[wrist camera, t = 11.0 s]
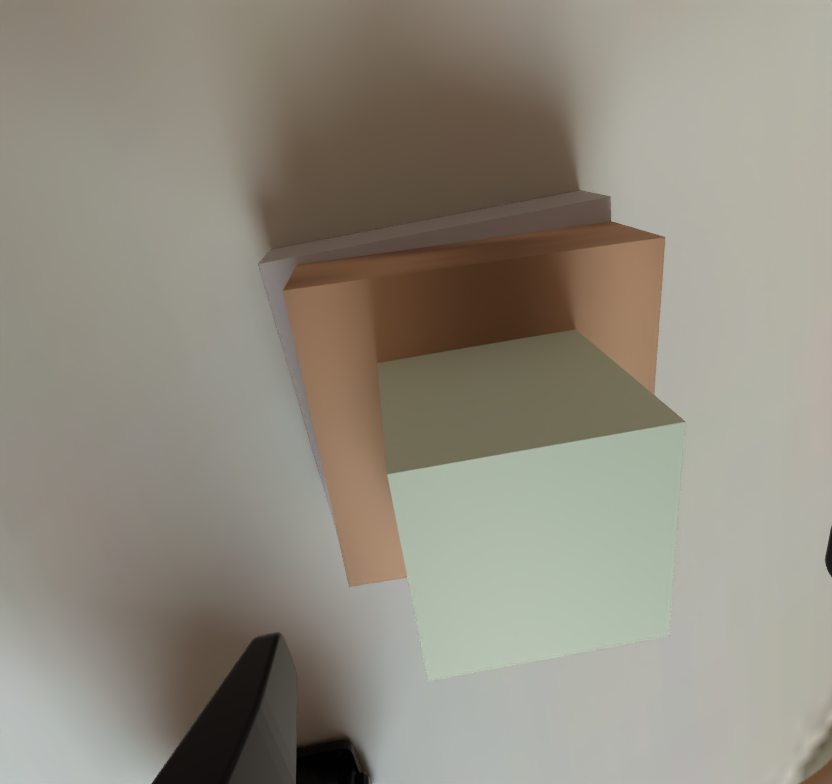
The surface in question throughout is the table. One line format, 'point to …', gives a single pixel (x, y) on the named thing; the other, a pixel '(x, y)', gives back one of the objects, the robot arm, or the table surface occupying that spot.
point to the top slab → (452, 341)
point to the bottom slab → (419, 234)
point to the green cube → (530, 500)
